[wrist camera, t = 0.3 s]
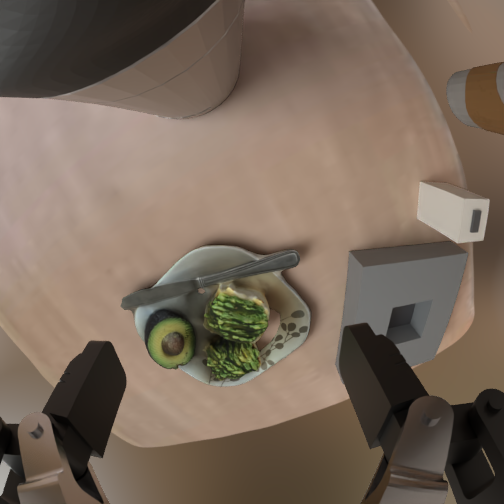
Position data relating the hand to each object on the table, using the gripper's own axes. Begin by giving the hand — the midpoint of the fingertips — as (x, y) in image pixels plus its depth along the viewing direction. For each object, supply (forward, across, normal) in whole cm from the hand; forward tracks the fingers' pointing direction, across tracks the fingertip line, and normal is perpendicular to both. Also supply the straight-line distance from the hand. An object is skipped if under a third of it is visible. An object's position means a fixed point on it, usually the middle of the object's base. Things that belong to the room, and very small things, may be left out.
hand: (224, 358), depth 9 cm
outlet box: (+18, -18, +12) cm, 28 cm away
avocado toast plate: (+18, +3, +11) cm, 22 cm away
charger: (+17, -21, -1) cm, 27 cm away
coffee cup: (+17, -26, -13) cm, 34 cm away
